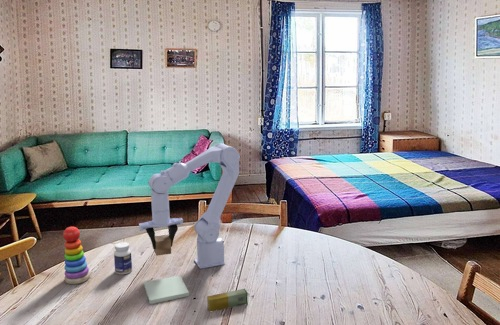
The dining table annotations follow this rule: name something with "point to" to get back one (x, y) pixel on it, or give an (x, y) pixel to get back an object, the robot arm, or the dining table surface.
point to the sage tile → (165, 289)
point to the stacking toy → (74, 258)
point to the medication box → (227, 300)
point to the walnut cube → (162, 245)
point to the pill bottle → (122, 258)
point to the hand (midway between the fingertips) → (162, 246)
